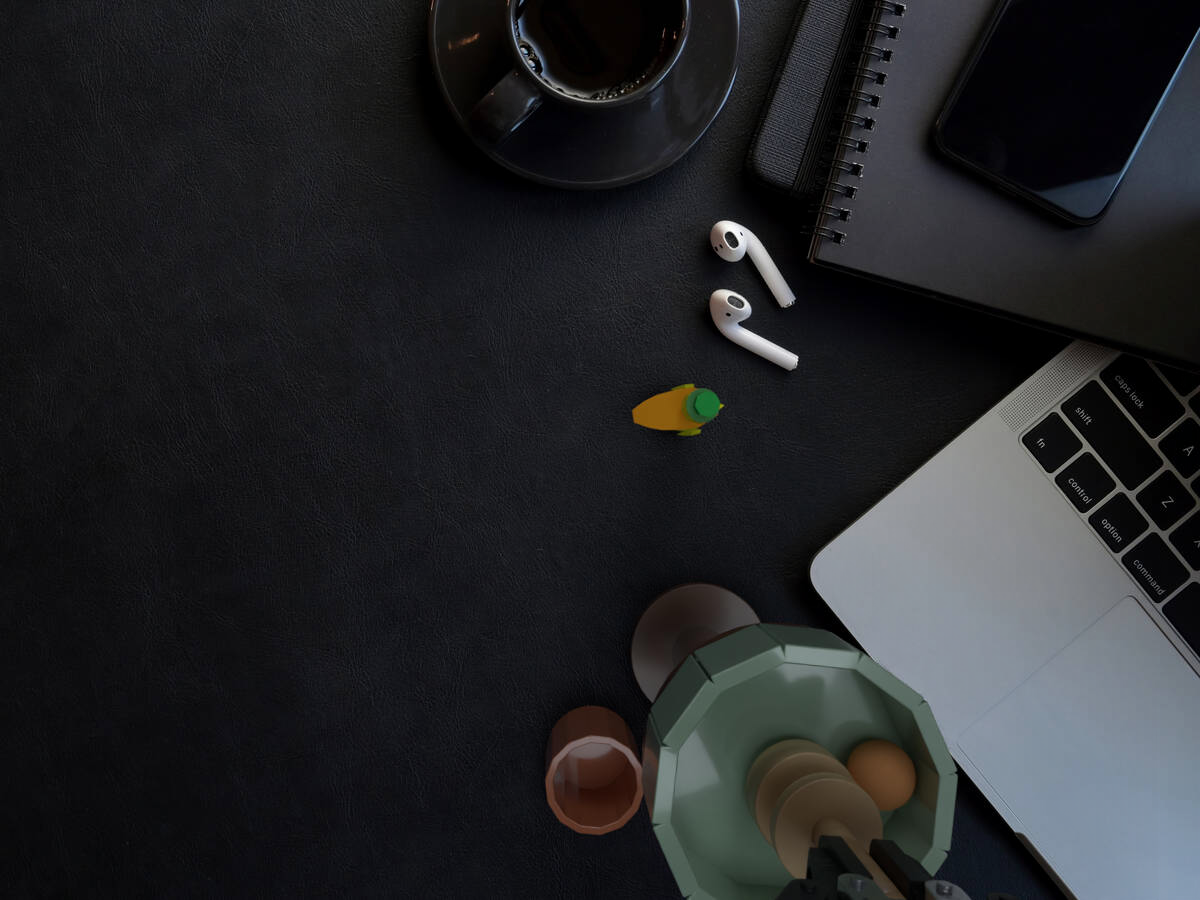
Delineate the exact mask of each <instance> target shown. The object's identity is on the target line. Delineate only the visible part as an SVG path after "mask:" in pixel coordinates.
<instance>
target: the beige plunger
mask: <svg viewBox="0 0 1200 900" xmlns="http://www.w3.org/2000/svg"><path fill="white" fill-rule="evenodd" d="M745 797H746V803H747V807H748V810H749V813H750V815H751V816H752V818H753V820H754V822H755V823H756V825H757V827H758V829H759V830H760V832H761V834H762V835H763V837H764V838H765V840H766V841H767V842H768V843H769V844H770V845H771V846H772V847H773V848H774V850H775V852H776V854H777V856H778V858H779V859H780V861H781V863H782V864H783V866H784V867H785V869H786V870H787V871H788V872H789V873H790V874H791V875H792V876H793V877H794V878H796V879H806V871H807V860H808V852H809V848H810V847H815V848H818V841H819V837H820V836H821V835H831V836H841V837H842V838H843V839H844V841H845V842H846V843H847V844H848V846H849V847H850V848H851V850H852V851H853V852H854V853H855V855H856V856H857V857H858V858H859V860H860V861H861V862H862V863H863V865H864V866H865V867H866V869H867V870H868V871H869V872H870V874H871V875H872V876H873V881H874V882H875V883H876V884H877V885H878V887H879V888H880V889H881V890H882V891H883V893H884V894H885V895H886V896H887V897H888V898H894V899H905V897H904V896H903V895H902V894H901V892H900V891H899V890H898V889H897V888H896V886H895V885H894V884H893V883H892V882H891V880H890V879H889V878H888V877H887V876H886V874H885V873H884V872H883V871H882V869H881V868H880V867H879V866H878V865H877V863H876V862H875V861H874V860H873V859H872V857H871V856H870V855H869V847H870V842H871V840H872V839H883V826H882V820H881V816H880V813H879V810H878V808H877V806H876V804H875V803H874V801H873V800H872V798H871V797H870V796H869V795H868V794H867V793H866V792H865V791H864V790H863V789H862V787H861V786H859V785H858V784H857V783H856V782H855V781H854V779H853V777H852V775H851V774H850V772H849V771H848V770H847V769H846V768H845V767H844V766H843V765H842V764H841V763H840V762H839V761H838V759H837V758H836V757H835V756H834V755H833V754H832V753H831V752H829V751H828V750H827V749H826V748H824V747H823V746H821V745H819V744H817V743H815V742H812V741H809V740H803V739H791V740H785V741H781V742H779V743H776V744H774V745H772V746H771V747H769V748H768V749H766V750H765V751H764V752H763V753H762V754H761V755H759V757H758V758H757V759H756V760H755V762H754V763H753V765H752V767H751V769H750V771H749V773H748V776H747V780H746V786H745ZM905 900H906V899H905Z"/></svg>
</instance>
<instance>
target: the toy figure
mask: <svg viewBox="0 0 1200 900" xmlns="http://www.w3.org/2000/svg"><path fill="white" fill-rule="evenodd" d="M724 406H725V405H724V404H723V403H721V400H720V399H719V397H718V395H717V394H716V393H715V392H714V391H713V390H712V389H709V388H705V387H703V388H702V387H700V388H697V387H695V384H694V383H686V384H681V385H678V386H675V387H673V388H671V389H670V391H666V392H662V393H658V394H656V395H654V396H652V397H650V398H648V399H646V400H644V401H643V402H641V403H640V404H639V405H637V406H636V407H634V408H633V409H632V420H633V423H634V424H637V425H640V426H642V427H645V428H650V429H654V430H660V431H677V432H678V433H677V436H682V437H686V436H688V437H689V436H697V435H699V434H701V432H702V431H701V429H700V427H702V426H703V425H706V423H708V422H711V421H712V420H714V419H715V418H717V416H719V412H720V410H721V409H722V408H724Z"/></svg>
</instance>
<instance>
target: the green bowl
mask: <svg viewBox="0 0 1200 900" xmlns="http://www.w3.org/2000/svg"><path fill="white" fill-rule="evenodd" d="M764 623H765V622H761V623H760V624H759V627H758V626H757V625H756V624H753V625H751V626H749V627H747V628H745V629H742V630H740V631H738V632H736V633H734V634H731V635H729V636H727V637H725V638H722V639H720V640H718V641H716V642H714V643H711V644H709V645H707V646H705V647H703V648H700V649H698V650H696V651H694V655H695V656H692V655H689V657H688V658H687V659H686V661H685V662H684V664H683V665H682V666H681V668H680V669H679V670H678V672H677V673H676V675H675V676H674V677H673V679H672V680H671V681H670V683H669V684H668V686H667V687H666V688H665V690H664V691H663V693H662V694H661V695H660V697H659V698H658V699H657V701H656V702H655V704H654V705H653V706H652V705H651V706H652V708H651V707H650V709H651V713H652V714H649V713H648V715H647V719H648V723H647V732H646V741H645V750H644V759H643V765H642V777H641V782H642V788H643V792H644V794H643V797H644V800H645V804H646V807H647V812H648V816H649V819H650V822H651V823H650V824H651V826H652V830H653V832H654V835H655V837H656V839H657V842H658V844H659V846H660V848H661V850H662V853H663V855H664V858H665V859H666V862H667V864H668V867H669V869H670V871H671V874H672V875H673V878H674V880H675V883H676V885H677V887H678V889H679V892H680V895H681V896H682V897H683V898H685V900H775V899H776V897H777V896H778V895H779V894H780V893H781V892H782V890H783V889H784V888H785V887H786V886H787V885H788V883H789V882H790V881H791V880H794V879H796V878H794V877H793V876H792V875H791V874H790V873H789V872H788V871H787V870H786V869H785V867H784V866H783V864H782V863H781V861H780V859H779V858H778V856H777V854H776V852H775V850H774V848H773V847H772V846H771V845H770V844H769V843H768V842H767V841H766V840H765V838H764V837H763V835H762V834H761V832H760V830H759V829H758V827H757V825H756V823H755V822H754V820H753V818H752V816H751V815H750V813H749V810H748V807H747V803H746V797H745V786H746V780H747V776H748V773H749V771H750V769H751V767H752V765H753V763H754V762H755V760H756V759H757V758H758V757H759V755H761V754H762V753H763V752H764V751H765V750H766V749H768V748H769V747H771V746H772V745H774V744H776V743H779V742H781V741H785V740H791V739H803V740H809V741H812V742H815V743H817V744H819V745H821V746H823V747H824V748H826V749H827V750H828V751H829V752H831V753H832V754H833V755H834V756H835V757H836V758H837V759H838V761H839V762H840V763H841V764H842V765H843V766H844V767H845V768H846V765H847V761H848V759H849V756H850V755H851V753H852V752H853V751H854V749H855V748H856V747H858V746H859V745H860V744H862V743H864V742H867V741H870V740H886V741H889V742H892V743H894V744H896V745H897V746H899V747H900V748H902V749H903V750H904V751H905V752H906V753H907V754H908V756H909V757H910V759H911V760H912V762H913V765H914V767H915V771H916V786H915V790H914V792H913V794H912V796H911V798H910V799H909V800H908V801H907V802H906V803H905V804H904V805H903V806H901V807H899V808H897V809H894V810H890V811H879V813H880V816H881V820H882V826H883V840H893V841H894V842H895V843H896V844H897V845H898V847H899V848H900V849H901V850H902V851H903V852H904V853H905V854H907V855H909V856H911V857H912V858H914V859H916V860H917V861H919V862H920V864H921V865H922V866H923V867H924V869H926V870H927V871H928V872H929V874H931V875H932V876H933V877H935V875H936V873H937V872H938V871H939V870H940V868H941V866H942V865H943V864H944V862H945V861H946V860H947V858H948V853H947V852H950V851H951V847H952V845H951V844H952V837H953V836H952V835H953V828H954V818H955V807H956V800H957V799H956V798H957V791H958V790H957V789H958V779H959V775H958V774H957V773H956V772H957V771H958V768H957V767H956V763H955V761H954V759H953V757H952V754H951V752H950V750H949V748H948V745H947V742H946V740H945V739H944V737H943V734H942V732H941V730H940V726H939V725H938V722H937V720H936V718H935V716H934V714H933V711H932V709H931V705H930V704H929V702H928V701H927V700H926V699H924V696H923V695H922V694H920V693H919V692H917V690H915V689H914V688H912V687H911V686H909V684H907V683H905V682H904V681H903V680H901V679H900V678H899V677H897V676H895V674H893V673H892V672H891V671H889V670H888V669H886V668H885V667H884V666H882V665H881V664H880V663H879V662H877V661H875V660H874V659H873V658H871V657H870V656H869V655H867V654H866V653H864V652H863V651H861V650H860V649H858V648H856V647H855V646H853V645H852V644H850V643H849V642H847V641H846V640H844V639H843V638H841V637H839V636H838V635H836V634H835V633H833V632H831V631H828V630H826V629H820V628H814V629H812V628H813V627H811V628H803V627H793V626H783V625H774V624H764ZM946 851H947V852H946Z"/></svg>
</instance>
